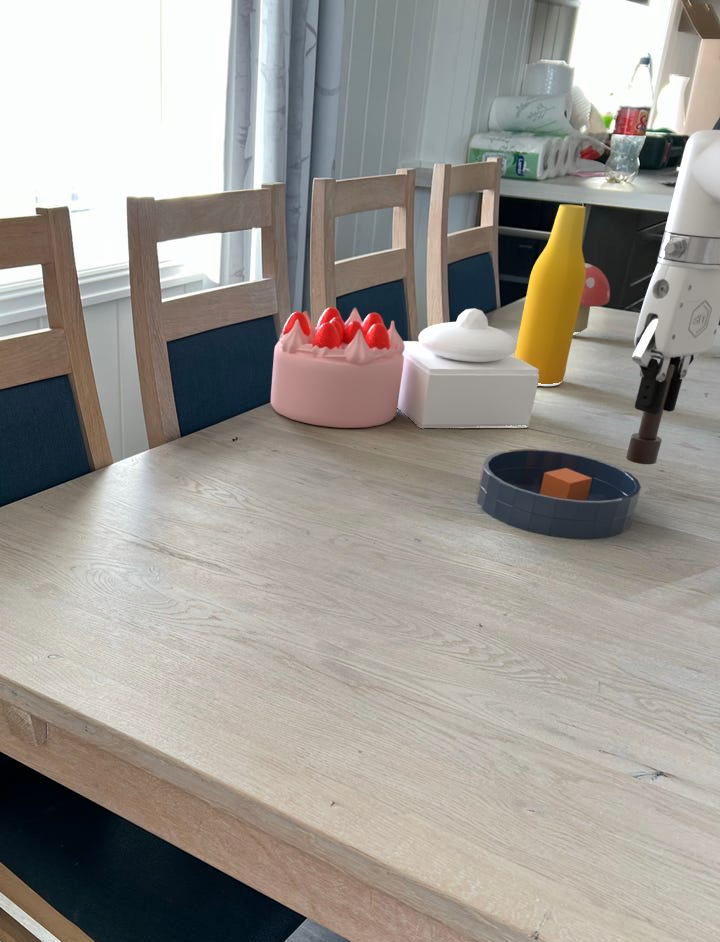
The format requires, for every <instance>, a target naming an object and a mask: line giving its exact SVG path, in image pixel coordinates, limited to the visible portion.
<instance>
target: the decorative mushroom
mask: <svg viewBox="0 0 720 942" xmlns="http://www.w3.org/2000/svg"><path fill="white" fill-rule="evenodd" d="M585 269H586V277H585V285H584V289H583V293H582V297H581V302H580V306H579V311H578V315H577V320H576V324H575V328H574V332H580V333H582V332H583V331H585V330H587V328H588V324H589V318H590V317H589V316H590V310H591V307H603V306H605V305H606V304H608V303H609V302H610V298H611V288H610V283H609V281H608V278H607V276H606V274H604V273H603V271H602V270H601V269H600V268H598V267H597V266H595V265H593V264H590V263H586V262H585ZM581 331H582V332H581Z"/></svg>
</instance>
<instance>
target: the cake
mask: <svg viewBox="0 0 720 942" xmlns="http://www.w3.org/2000/svg"><path fill="white" fill-rule="evenodd" d="M403 341H404V340H403V339H402V337H401V336H400V335H399V333H398V331H397V329H396V326H395V321H394V320H391V321H390V326H389V328H388V329H387V327H386V326H385V324H384V321H383V318H382V316H381V314H379V313H378V312H370V313H369V314H368V315H367V316H366V317H365V318H364V320H362V318H361V316H360V314H359V311H358V309H357V308H356V307H353V309H352V311H351V313H350V314H349V317H348V318H347V320H346V321H344V320H343V319H342V315H341V313H340V311H339V310H338V309H337V308H336V307H334V306H330V307H328V308H326V309H325V310H324V311H323V313H322V314H321V315H320V317H319V319H318V321H317V325H316V326H314V324H313V323H312V321H311V319H310V316H309V313H308V311H307V310H305V311H303V312H302V311H295V312H293V313H292V314H290V316H289V317H288V319H287V321H286V322H285V324H284V326H283V329H282V332H281V333H280V335H279V339H278V341H277V342H276V344H275V346H274V352H273V364H272V376H271V389H270V404H271V407H272V408H273V409H274V411H275V412H276V413H278V414H279V415H282V416H283V417H286V418H287V419H290V420H294V421H296V422H301V423H305V424H309V425H314V426H319V427H320V426H321V427H327V428H328V427H331V428H339V429H341V428H343V429H347V428H348V429H351V428H352V429H355V428H357V429H358V428H369V427H375V426H381V425H384V424H387V423H389V422H391V421H392V420H393V419H394V418H395V417H396V415H397V411H398V409H397V407H398V400H399V393H400V386H401V379H402V371H403V364H404V356H403V352H404V349H405V346H404V343H403Z"/></svg>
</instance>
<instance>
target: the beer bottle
mask: <svg viewBox="0 0 720 942" xmlns="http://www.w3.org/2000/svg"><path fill="white" fill-rule="evenodd" d="M585 219H586V206H583V205H578V204H577V205H576V204H560V205H559V207H558V210H557V213H556V216H555V219H554V223H553V226H552V228H551V232H550V235H549V239H548V240H547V241H548V242H547V244H546V245H545V247H544V249H543V251H542V252H541V253H540V255H539V256H538V258H537V259H536V261H535V263H534V265H533V267H532V270H531V273H530V275H529V281H528V286H527V291H526V296H525V300H524V307H523V311H522V316H521V322H520V327H519V332H518V336H517V342H516V345H517V348H516V350H515V352H514V356H515V357H517V358H519V359H521V360H523V361H524V362H526V363H528V364H530V365H532V366H533V367H535V368H537V369H539V372H538V375H539V380H538V383H541V384H553V383H559V382H561V381H562V382H563V381H564V378H565V375H566V370H567V366H568V365H567V364H568V361H569V360H568V359H569V354H570V350H571V345H572V341H573V337H574V336H573V333H574V328H575V324H576V320H577V315H578V311H579V306H580V302H581V297H582V293H583V289H584V285H585V277H586V269H585V263H586V261H585V258H584V253H583V237H584V236H583V235H584V227H585V226H584V225H585Z"/></svg>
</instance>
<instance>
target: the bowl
mask: <svg viewBox="0 0 720 942" xmlns="http://www.w3.org/2000/svg"><path fill="white" fill-rule="evenodd" d="M564 468H567V469H570V470H572V471H575V472H578V473H580V474H583V475H585V476H588V477H590V478H592V481H591V485H590V489H589V493H588V497H587V501H579V500H571V499H562V498H556V497H551V496H546V495H542V494H540V491H541V486H542V482H543V477H544V473H545V472H550V471H554V470H559V469H564ZM641 490H642V486H641V483H640V481H639V479H637V477H635V476H634V475H633V474H632V473H630V472H628V471H627V470H625V469H623V468H621V467H619V466H617V465H614V464H612V463H610V462H607V461H604V460H601V459H598V458H594V457H590V456H586V455H583V454H579V453H573V452H567V451H560V450H552V449H539V448H538V449H537V448H518V449H508V450H503V451H498V452H495V453H493V454H491V455H489V456H487V457H486V458H485V459H484V461H483V462H482V467H481V472H480V476H479V483H478V488H477V493H476V501H477V504H478V506H479V507H480V509H481V510H483V512H485V513H486V514H487V515H489V516H490V517H492V518H493V519H494V520H495V519H496V520H497V521H499V522H501V523H504V524H506V525H508V526H511V527H513V528H516V529H519V530H521V531H526V532H529V533H534V534H537V535H543V536H547V537H554V538H560V539H568V540H569V539H570V540H601V539H606V538H607V539H608V538H613V537H616V536H619V535H622V534H624V533H625V532H626V531H628V530H629V529H630V528H631V526H632V522H633V519H634V516H635V511H636V507H637V504H638V501H639V497H640V493H641Z"/></svg>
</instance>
